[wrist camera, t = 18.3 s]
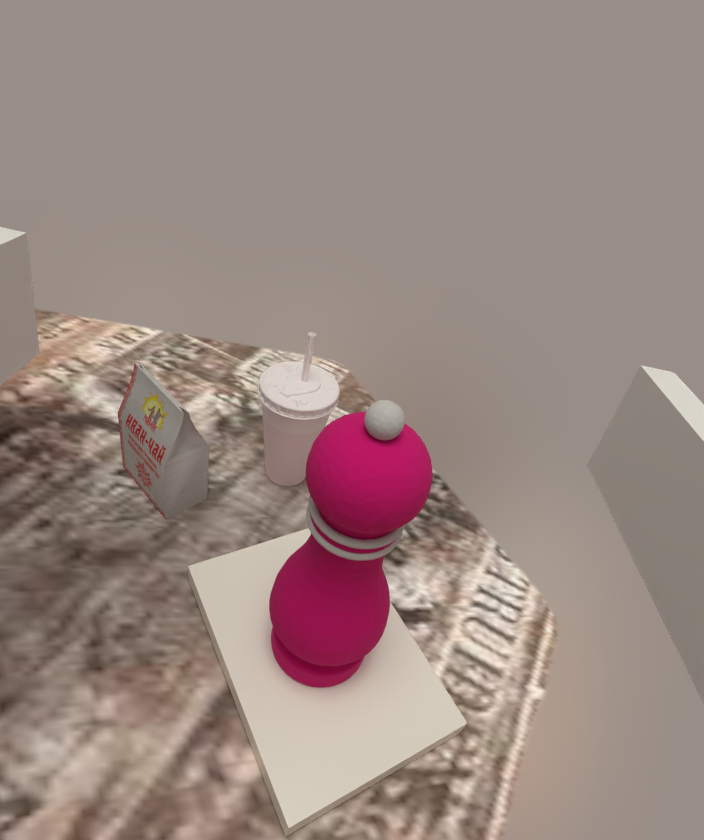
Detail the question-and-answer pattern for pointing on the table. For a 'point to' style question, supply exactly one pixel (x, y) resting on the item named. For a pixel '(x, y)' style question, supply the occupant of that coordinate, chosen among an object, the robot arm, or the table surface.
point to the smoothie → (294, 414)
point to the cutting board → (317, 693)
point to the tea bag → (162, 446)
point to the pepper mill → (347, 544)
